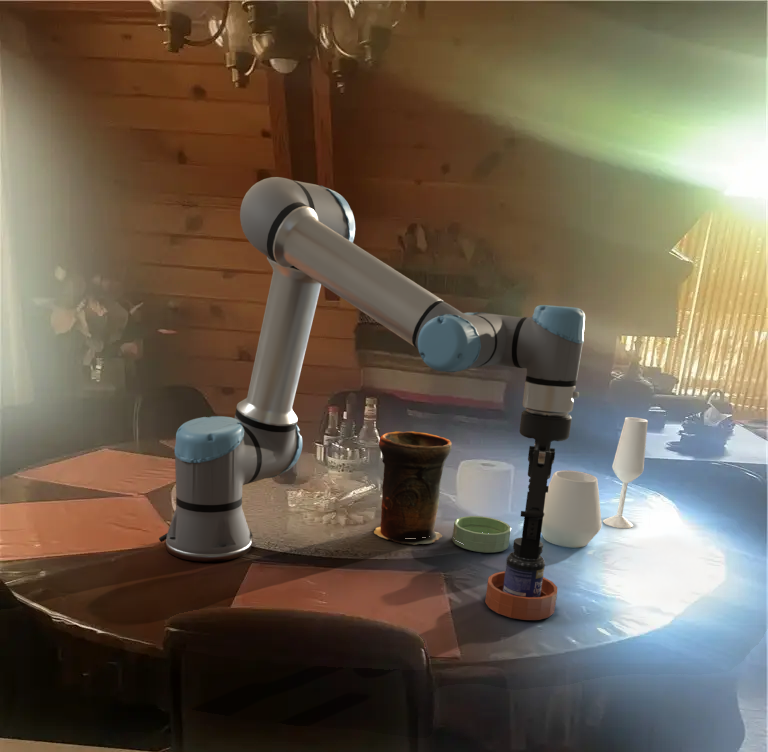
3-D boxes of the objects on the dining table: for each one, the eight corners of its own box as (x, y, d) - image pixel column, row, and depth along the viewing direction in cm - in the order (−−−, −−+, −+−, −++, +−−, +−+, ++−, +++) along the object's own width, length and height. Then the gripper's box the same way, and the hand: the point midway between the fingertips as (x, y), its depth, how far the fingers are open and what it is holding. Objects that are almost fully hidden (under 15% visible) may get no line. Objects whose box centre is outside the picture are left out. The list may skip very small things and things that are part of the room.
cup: (521, 537, 158) (530, 473, 153) (552, 524, 168) (561, 464, 163) (580, 556, 150) (591, 488, 145) (609, 541, 160) (620, 478, 155)
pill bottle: (538, 615, 121) (547, 551, 118) (500, 609, 122) (508, 545, 119) (538, 600, 127) (547, 538, 123) (501, 594, 128) (510, 533, 124)
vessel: (422, 520, 164) (431, 429, 158) (454, 542, 152) (465, 445, 146) (361, 524, 158) (368, 430, 152) (389, 548, 146) (398, 447, 140)
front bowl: (482, 615, 120) (485, 592, 119) (488, 588, 131) (490, 567, 129) (553, 626, 118) (557, 603, 117) (553, 598, 129) (557, 576, 127)
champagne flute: (631, 530, 168) (650, 424, 161) (600, 524, 171) (618, 419, 163) (635, 522, 174) (654, 419, 167) (605, 516, 177) (623, 415, 169)
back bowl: (449, 548, 148) (451, 529, 147) (456, 531, 158) (458, 513, 157) (506, 557, 146) (509, 537, 145) (509, 538, 156) (512, 520, 155)
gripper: (574, 428, 102) (553, 574, 109) (570, 401, 126) (553, 522, 132) (518, 422, 104) (501, 567, 110) (525, 397, 127) (510, 517, 133)
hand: (529, 543), depth 121 cm, fingers open, 13 cm apart
